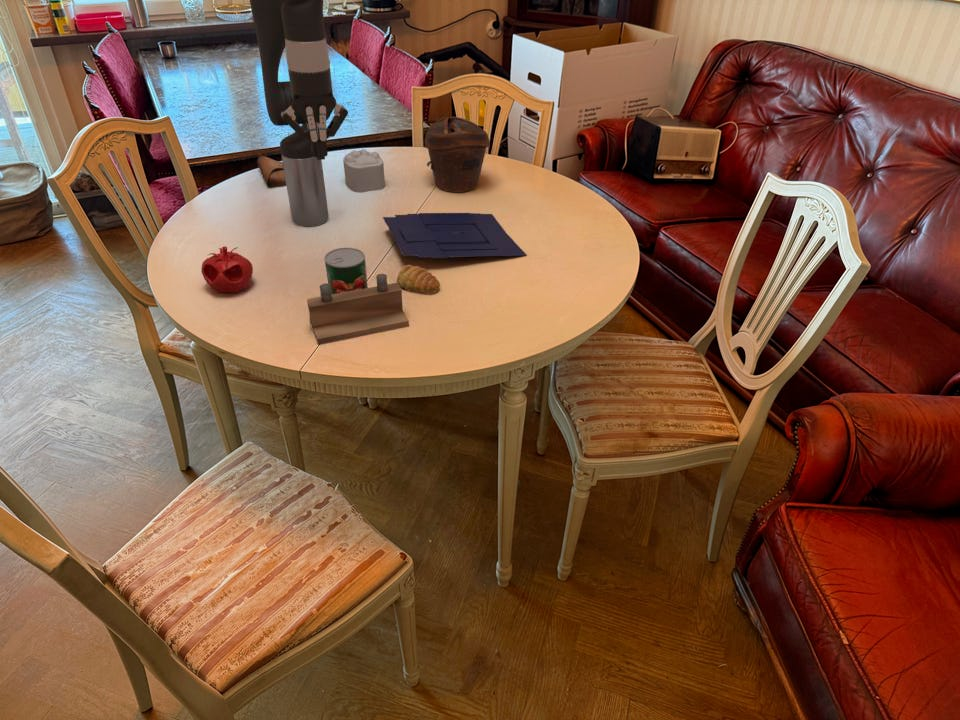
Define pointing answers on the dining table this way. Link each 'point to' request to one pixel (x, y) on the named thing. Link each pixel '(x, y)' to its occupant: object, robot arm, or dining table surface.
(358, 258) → the canned tomato
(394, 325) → the bench stop
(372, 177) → the lumpy-topped squat cylinder
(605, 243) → the dining table surface
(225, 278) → the pomegranate
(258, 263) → the dining table surface
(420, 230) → the navy folded cloth
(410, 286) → the pastry
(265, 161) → the sunglasses case
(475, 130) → the case
